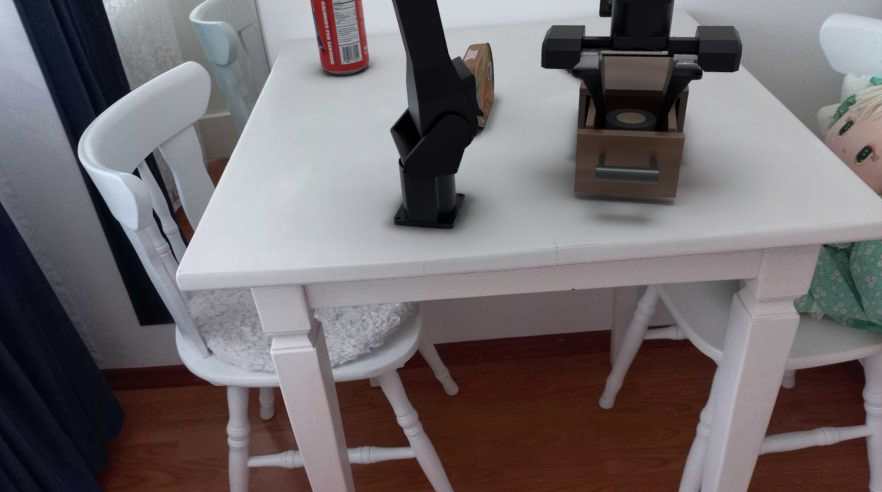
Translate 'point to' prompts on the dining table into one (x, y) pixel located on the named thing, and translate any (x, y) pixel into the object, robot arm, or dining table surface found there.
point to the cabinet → (634, 84)
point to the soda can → (340, 35)
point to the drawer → (629, 154)
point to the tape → (630, 120)
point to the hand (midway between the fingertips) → (630, 127)
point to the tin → (482, 76)
